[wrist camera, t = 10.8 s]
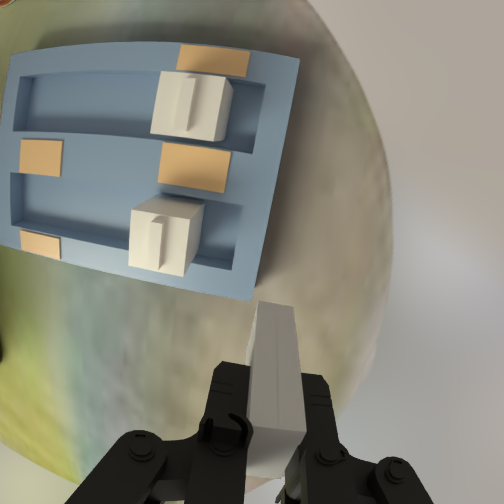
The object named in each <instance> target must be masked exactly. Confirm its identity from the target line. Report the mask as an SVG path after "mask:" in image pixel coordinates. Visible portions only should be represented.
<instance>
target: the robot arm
mask: <svg viewBox="0 0 504 504" xmlns="http://www.w3.org/2000/svg"><path fill="white" fill-rule="evenodd" d="M330 398H331V395H330V390H329V385H328V384H327V382H326V381H325V380H324V378H323V377H322V375H316V374H307V373H301V369H300V360H299V351H298V342H297V334H296V325H295V317H294V309H293V307H291V306H286V305H280V304H274V303H269V302H263V301H258V303H257V307H256V312H255V316H254V321H253V325H252V330H251V334H250V339H249V343H248V347H247V352H246V362H245V365H241V364H236V363H230V362H225V361H222V362H221V363H220V364H219V365H218V366H217V367H216V368H215V369H214V372H213V376H212V381H211V385H210V390H209V394H208V399H207V403H206V408H205V413H204V416H203V417H202V419H201V421H200V423H199V431H198V432H197V433H196V434H194V435H193V436H191V437H189V438H186V439H183V440H171V441H162V439H161V438H160V437H158V436H157V435H155V434H154V433H151V432H148V431H145V430H134V431H130V432H127V433H125V434H124V435H122V436H121V437H120V438H119V439H118V440H117V441H116V443H115V444H114V445H113V446H112V447H111V449H110V450H109V451H108V452H107V453H106V455H105V456H104V457H103V458H102V459H101V461H100V462H99V463H98V464H97V465H96V467H95V468H94V469H93V470H92V471H91V473H90V474H89V475H88V476H87V477H86V479H85V480H84V481H83V482H82V483H81V485H80V486H79V487H78V488H77V489H76V490H75V492H74V493H73V494H72V495H71V496H70V498H69V499H68V500H67V501H66V502H65V504H164V503H165V501H180V500H185V501H184V504H244V493H245V480H246V476H253V477H262V478H273V479H281V478H282V476H283V474H284V473H285V485H284V486H283V488H282V490H281V491H280V493H279V495H278V496H277V497H276V501H275V503H279V502H280V500H281V504H434V503H433V502H432V500H431V498H430V496H429V495H428V493H427V491H426V490H425V488H424V486H423V485H422V483H421V481H420V479H419V478H418V476H417V474H416V473H415V471H414V469H413V468H412V467H411V466H410V464H409V463H408V462H407V461H405V460H403V459H402V458H398V457H386V458H384V459H382V460H380V461H379V463H378V464H376V463H372V462H368V461H364V460H360V459H358V458H355V457H353V456H351V455H350V454H349V453H348V450H347V449H346V448H345V447H344V446H343V445H342V444H341V443H340V442H339V439H338V433H337V427H336V422H335V416H334V411H333V408H332V400H331V399H330Z"/></svg>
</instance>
